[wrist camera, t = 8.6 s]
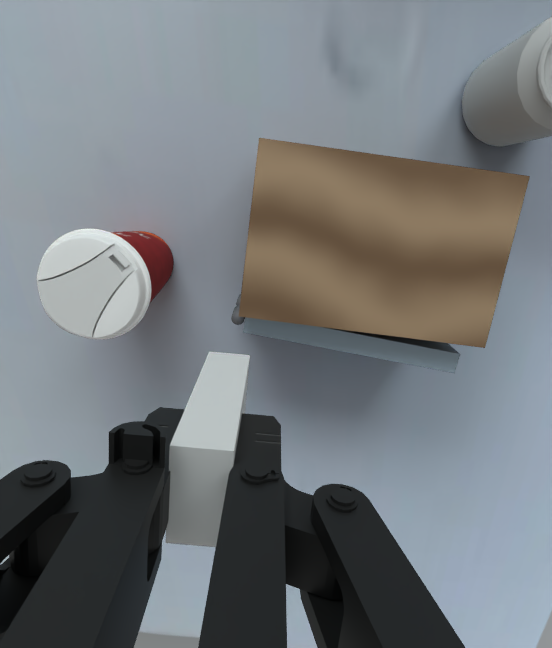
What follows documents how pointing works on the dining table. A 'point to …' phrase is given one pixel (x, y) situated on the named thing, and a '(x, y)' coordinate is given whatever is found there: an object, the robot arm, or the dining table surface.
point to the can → (513, 91)
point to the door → (356, 342)
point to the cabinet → (377, 243)
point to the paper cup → (102, 280)
